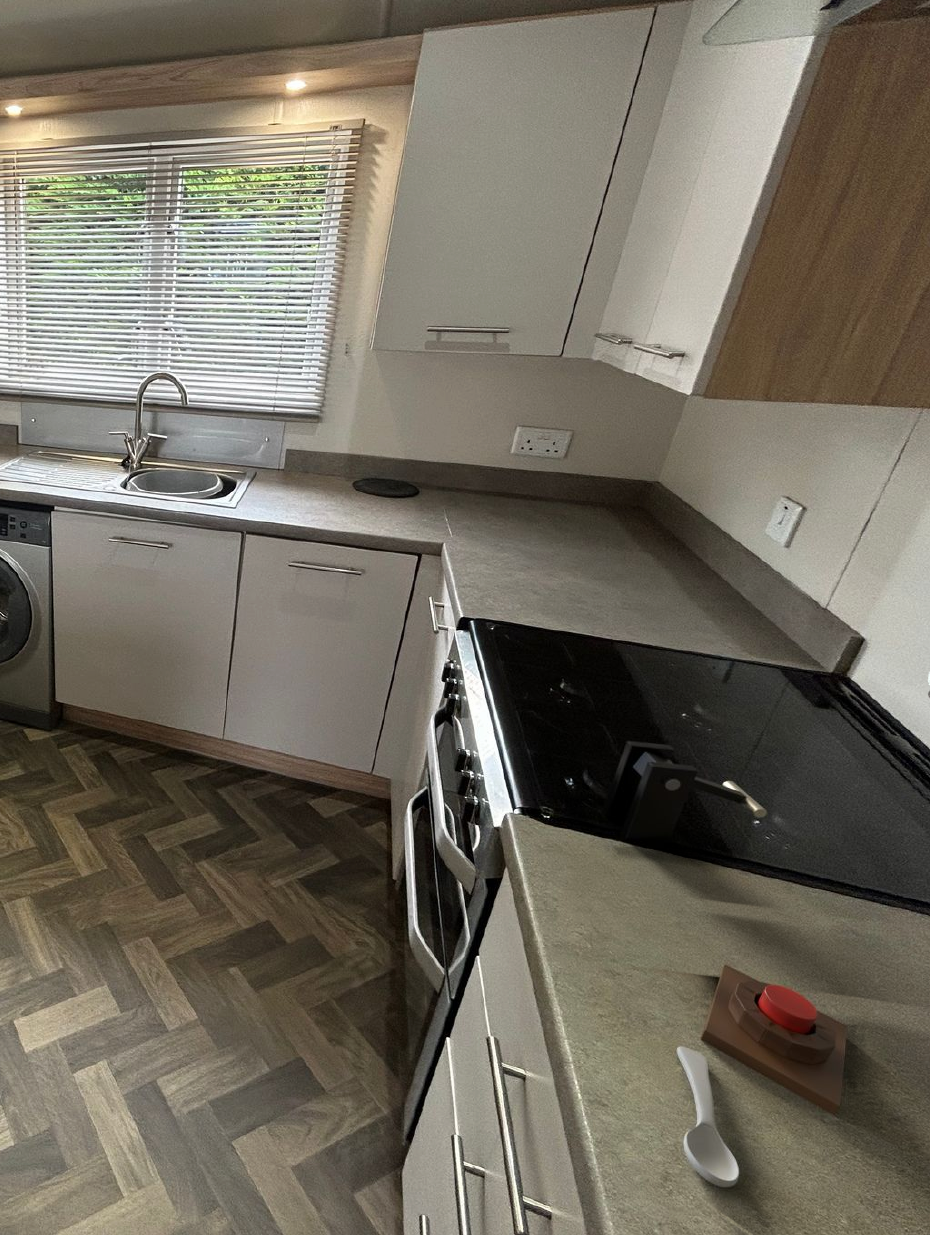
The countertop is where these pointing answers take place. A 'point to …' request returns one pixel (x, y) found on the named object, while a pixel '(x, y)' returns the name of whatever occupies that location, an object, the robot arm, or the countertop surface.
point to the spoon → (706, 1127)
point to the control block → (776, 1042)
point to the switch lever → (709, 786)
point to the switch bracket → (648, 794)
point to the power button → (787, 1009)
